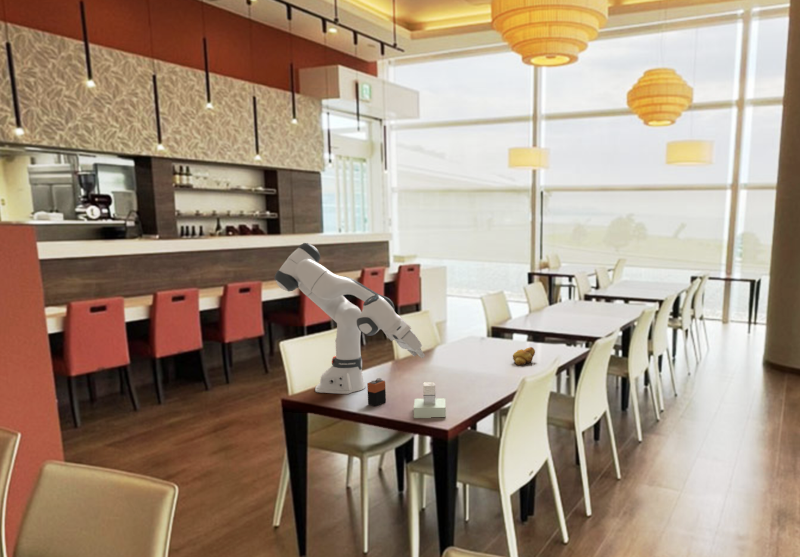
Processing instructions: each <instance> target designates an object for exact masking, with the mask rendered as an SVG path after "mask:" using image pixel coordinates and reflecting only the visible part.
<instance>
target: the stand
mask: <svg viewBox="0 0 800 557" xmlns="http://www.w3.org/2000/svg"><path fill="white" fill-rule="evenodd" d="M413 402H414V404H413V419H432V418H431V417H447V412H446V411H447V410H446V407H447V406H446V397H445V398H444V397H443V398H438V397H436V405H424V398H414V401H413Z"/></svg>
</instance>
